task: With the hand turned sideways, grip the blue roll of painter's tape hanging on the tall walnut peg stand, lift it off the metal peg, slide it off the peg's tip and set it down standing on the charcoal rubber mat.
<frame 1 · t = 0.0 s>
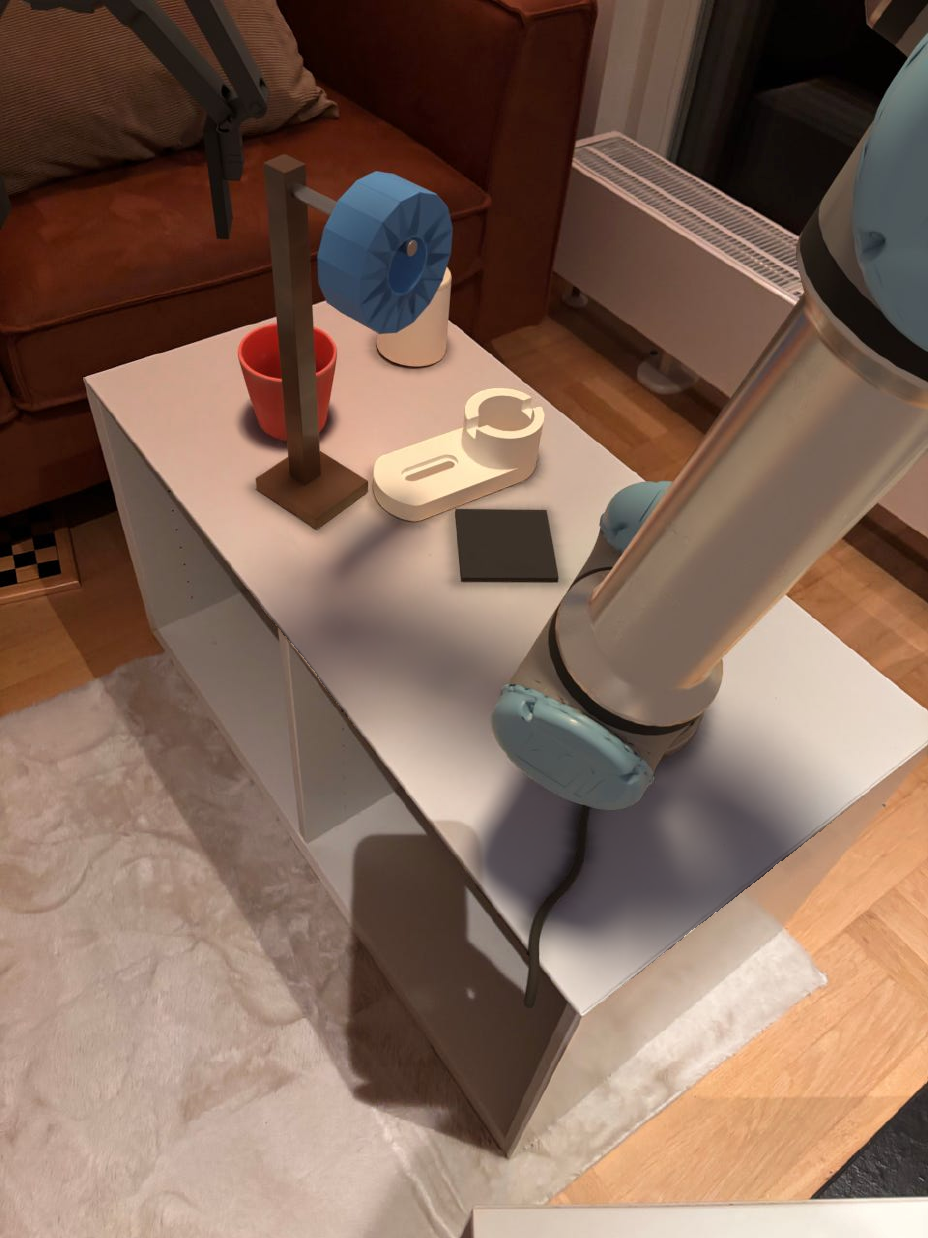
hand: (114, 223, 58), 39 cm above the table, tool pointing down, fingers open, 13 cm apart
tape roll: (386, 255, 73), point 31 cm above the table, touching peg stand
flower pot: (293, 421, 108), on the table
mat: (505, 546, 98), on the table
bracket: (456, 476, 104), on the table
peg stand: (306, 486, 101), on the table
beige cylinder: (421, 265, 112), point 11 cm above the table
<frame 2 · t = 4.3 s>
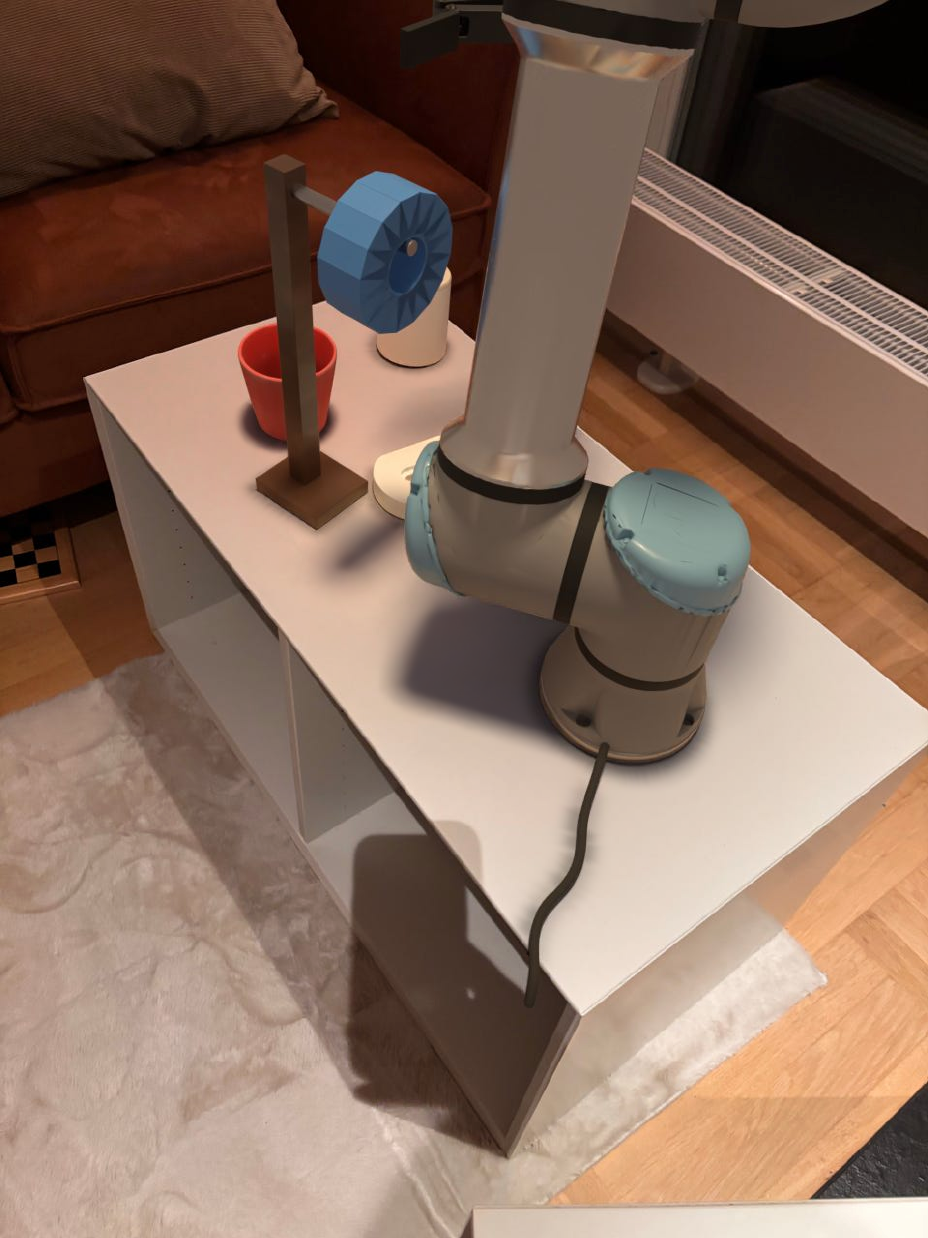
hand: (472, 77, 70), 42 cm above the table, tool horizontal, fingers open, 13 cm apart
nothing on the table moved.
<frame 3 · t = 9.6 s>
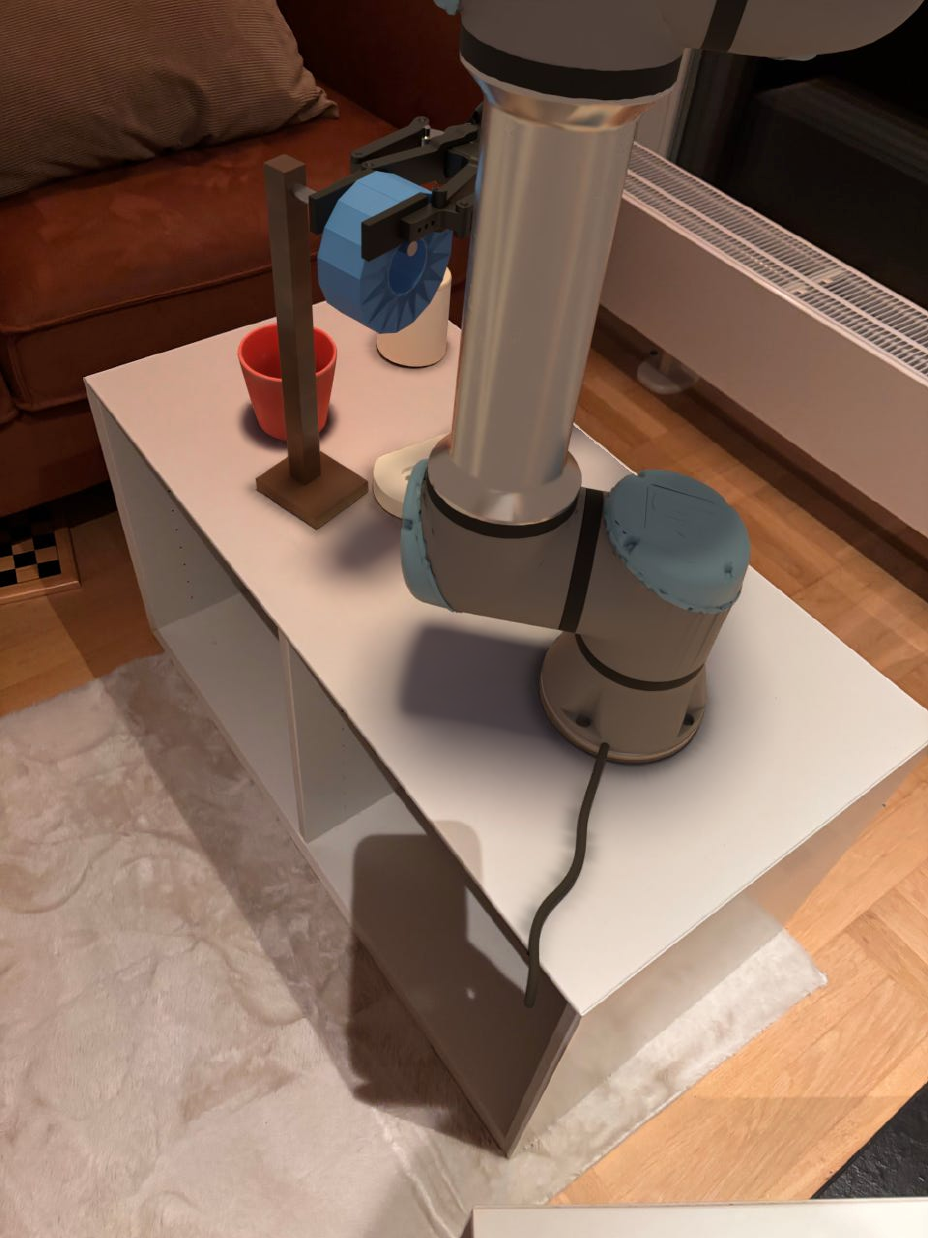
hand: (339, 228, 67), 36 cm above the table, tool horizontal, fingers closed on tape roll, 4 cm apart
tape roll: (386, 255, 73), point 31 cm above the table, touching gripper, peg stand
everything else where it was.
when the fingers open (2 cm above the table, at t = 19.7 s): tape roll stays where it is, resting on mat.
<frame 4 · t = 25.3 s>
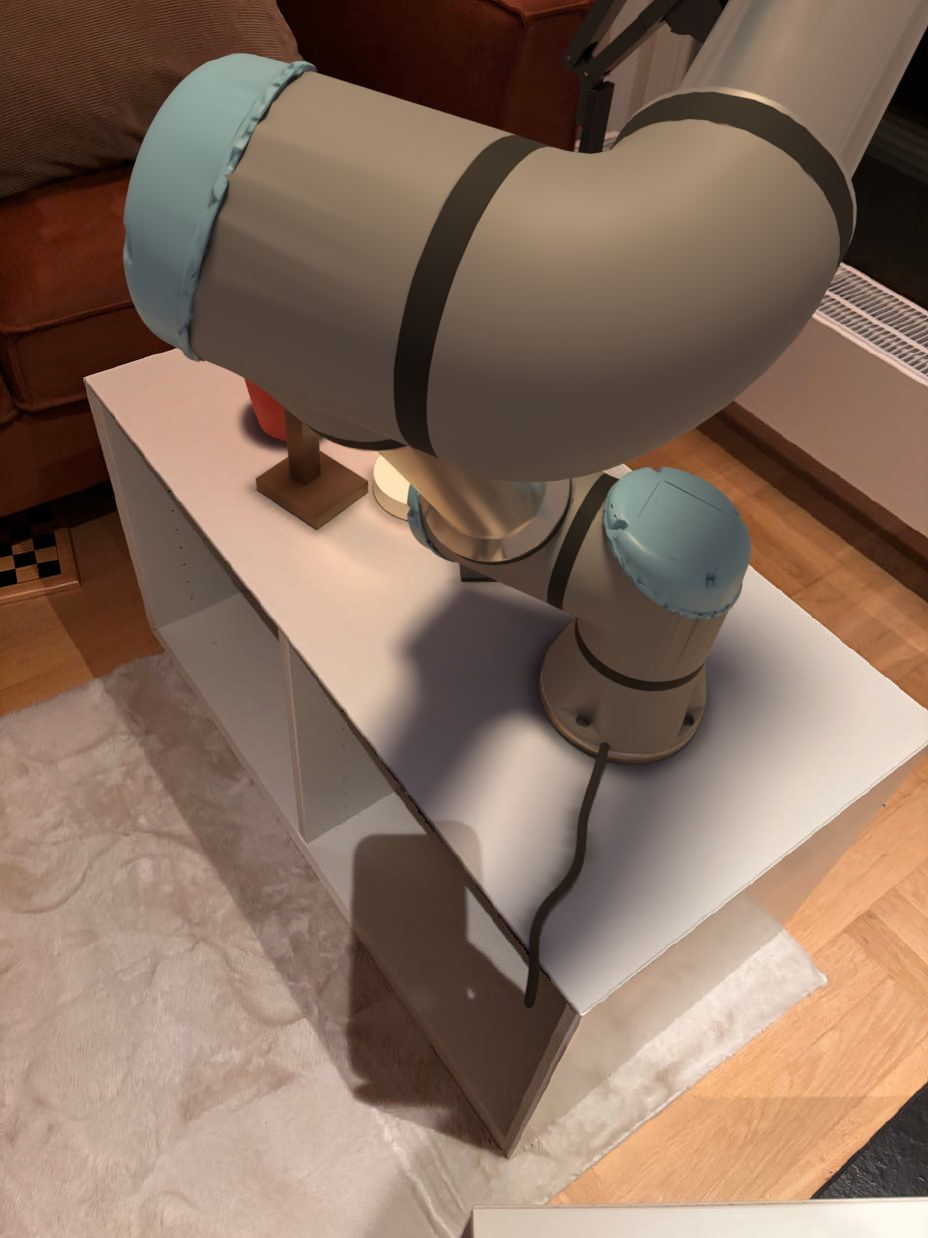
hand: (655, 199, 76), 35 cm above the table, tool pointing down, fingers open, 13 cm apart
tape roll: (535, 483, 95), point 6 cm above the table, tilted 90°, touching mat
everything else where it was.
at the end: tape roll inside the target area on the mat (4.1 cm from its centre), point 6.1 cm above the mat's base; the gripper is holding nothing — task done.
